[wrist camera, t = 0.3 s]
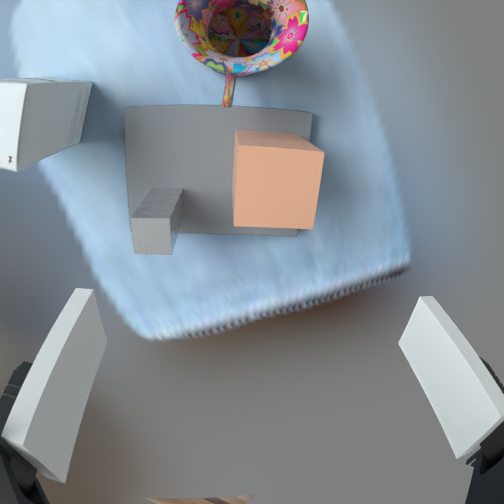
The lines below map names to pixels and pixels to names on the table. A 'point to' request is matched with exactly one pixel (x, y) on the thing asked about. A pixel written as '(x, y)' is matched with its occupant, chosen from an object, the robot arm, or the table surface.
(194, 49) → the mug
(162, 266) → the table surface
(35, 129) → the supplement box
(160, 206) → the post
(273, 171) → the peach tan brick
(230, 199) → the board
